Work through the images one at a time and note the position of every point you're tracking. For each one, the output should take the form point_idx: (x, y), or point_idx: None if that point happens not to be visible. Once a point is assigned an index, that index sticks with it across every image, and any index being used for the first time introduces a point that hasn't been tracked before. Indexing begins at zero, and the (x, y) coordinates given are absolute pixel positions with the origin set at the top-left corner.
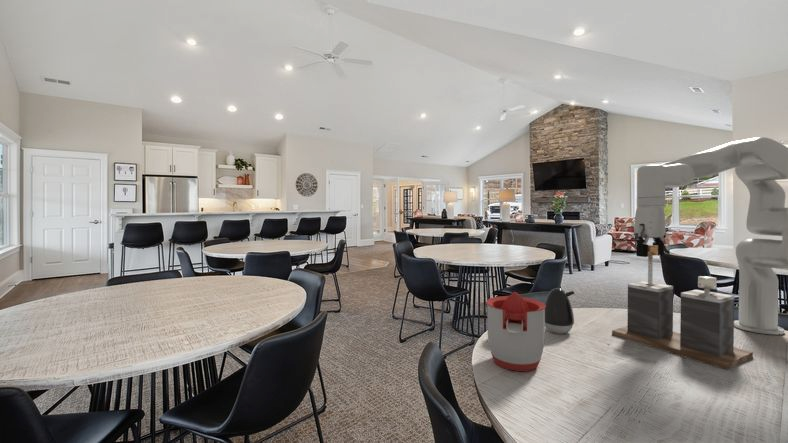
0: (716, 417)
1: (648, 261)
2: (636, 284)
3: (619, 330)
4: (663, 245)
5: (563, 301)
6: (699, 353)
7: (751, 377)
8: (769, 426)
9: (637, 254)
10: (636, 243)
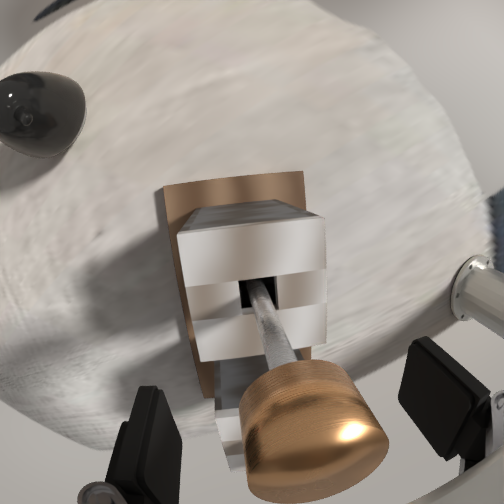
0: (68, 423)
1: (270, 365)
2: (204, 263)
3: (180, 195)
4: (436, 447)
5: (3, 141)
6: (209, 362)
7: (208, 412)
8: (102, 445)
9: (140, 399)
10: (90, 488)
